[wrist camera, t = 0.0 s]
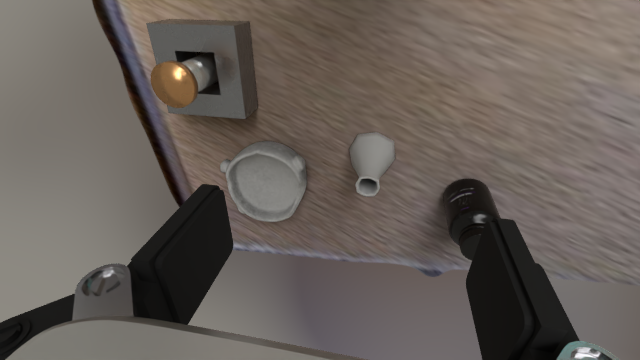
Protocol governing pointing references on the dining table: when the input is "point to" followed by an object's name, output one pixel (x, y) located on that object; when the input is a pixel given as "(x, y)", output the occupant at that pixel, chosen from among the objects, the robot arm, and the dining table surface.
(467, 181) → the supplement bottle
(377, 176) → the flask
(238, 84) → the gray square-hole block
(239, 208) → the dish
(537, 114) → the dining table surface
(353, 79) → the dining table surface
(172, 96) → the pin
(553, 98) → the dining table surface
